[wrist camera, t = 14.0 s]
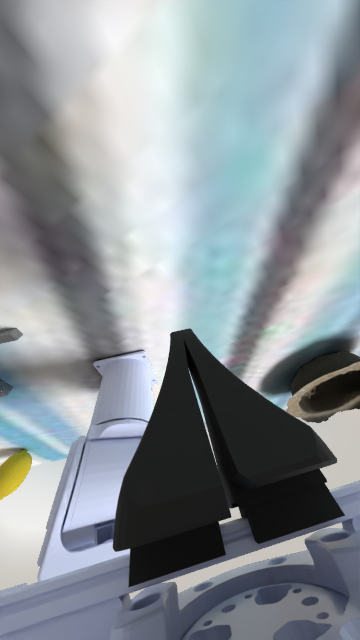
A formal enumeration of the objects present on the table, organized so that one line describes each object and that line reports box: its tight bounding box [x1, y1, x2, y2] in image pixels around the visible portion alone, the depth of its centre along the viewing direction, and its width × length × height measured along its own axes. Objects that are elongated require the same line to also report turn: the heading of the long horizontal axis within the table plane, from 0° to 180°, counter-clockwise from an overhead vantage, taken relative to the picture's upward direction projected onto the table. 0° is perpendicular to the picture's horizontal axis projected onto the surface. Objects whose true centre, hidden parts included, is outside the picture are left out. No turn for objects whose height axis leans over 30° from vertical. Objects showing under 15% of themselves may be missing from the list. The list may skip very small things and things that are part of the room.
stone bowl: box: [287, 351, 360, 423], centre depth 36 cm, size 25×25×9 cm
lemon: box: [0, 449, 32, 500], centre depth 33 cm, size 6×6×8 cm
